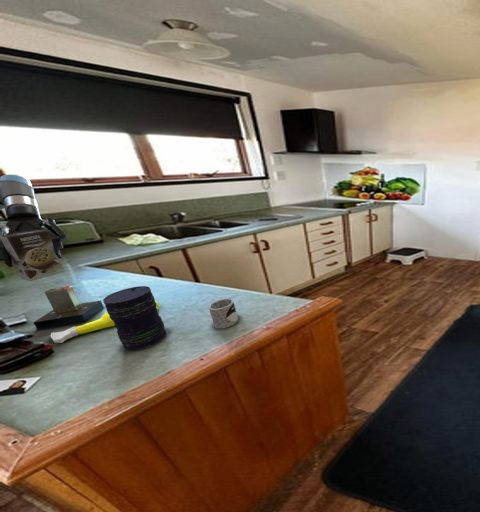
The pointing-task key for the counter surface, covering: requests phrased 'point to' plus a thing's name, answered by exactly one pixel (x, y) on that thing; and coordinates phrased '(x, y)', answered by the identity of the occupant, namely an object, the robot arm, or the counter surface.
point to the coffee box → (33, 254)
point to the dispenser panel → (69, 316)
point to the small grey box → (63, 299)
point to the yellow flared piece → (85, 328)
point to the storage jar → (135, 317)
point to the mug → (223, 313)
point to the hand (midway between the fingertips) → (34, 260)
